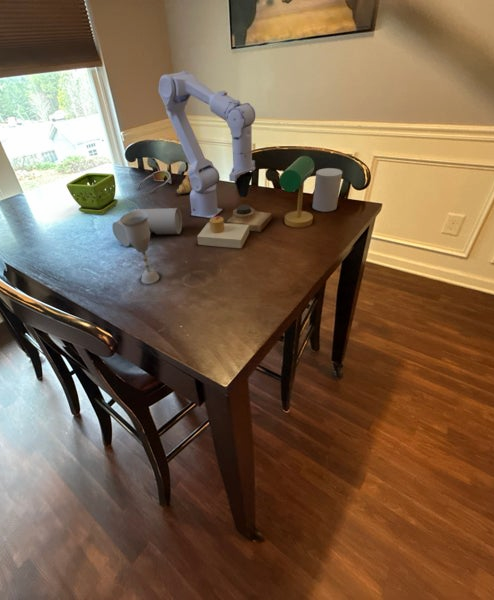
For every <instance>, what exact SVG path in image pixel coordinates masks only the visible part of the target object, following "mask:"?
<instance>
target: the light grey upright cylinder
mask: <svg viewBox="0 0 494 600" xmlns="http://www.w3.org/2000/svg"><path fill="white" fill-rule="evenodd" d="M342 177H343V170H341V169H340V168H333V167H325V168H321V169H318V170H316V171H315V179H314V187H313V188H314V190H313V198H312V207H311V208H312V209H313V210H315V211H319V212H323V213H325V212H333V211H335V210H337V207H338V201H339V195H340V189H341V183H342Z"/></svg>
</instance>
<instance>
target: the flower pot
mask: <svg viewBox="0 0 494 600" xmlns="http://www.w3.org/2000/svg"><path fill="white" fill-rule="evenodd" d="M115 178H116V177H115V175H114V173H102V172H101V173H100V172H99V173H98V172H87V173H84V174H83V175H81V176H79V177H76V178H74V179H73V180H71V181H69V182H68V183H67V184H66V185H65V186H66V188H67V191H68V192H69V194H70V195H71V197H72V198H73V200H74V201H75V202H76V203H77V205H79V206H80V207H79V208H78V211H79V212H81V213H83V214H91V215H92V214H93V215H104V214H105V213H107V212H108V211H109V210H111V209H112V208H113V207H116V205H117V204H118V202H119V200H118V199H117V198H115V197H116V186H117V185H116V179H115Z"/></svg>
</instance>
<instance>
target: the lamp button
mask: <svg viewBox="0 0 494 600" xmlns="http://www.w3.org/2000/svg"><path fill="white" fill-rule="evenodd" d="M250 208H251V206H250V205H249V204H240V205H238V206H237V207H236V209H237V213H238V214H242V215H243V214H249V213H250Z"/></svg>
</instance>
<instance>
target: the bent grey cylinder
mask: <svg viewBox="0 0 494 600" xmlns="http://www.w3.org/2000/svg"><path fill="white" fill-rule="evenodd" d="M134 211H144V212H146V213H148V218H147V222H148V226H149V230H150V235H151V234H152V233H155V234H156V235H180V234H181V232H182V229H183V216H182V212H181V210H180V208H179V207H172V208H171V207H169V208H136V209H134V208H133V209H132V212H134ZM111 228H112V233H113V235H114V237H115V239H116V240H117V242H118V243H119V244H120V245H122V246H123V247H129V246H132V244H131V243H130V242H129V240H128V239H127V235H126V232H125V228H124V225H123V224H122V222H121V221H120V219H118V220H117V221H114V222H113V223H112V226H111Z"/></svg>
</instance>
